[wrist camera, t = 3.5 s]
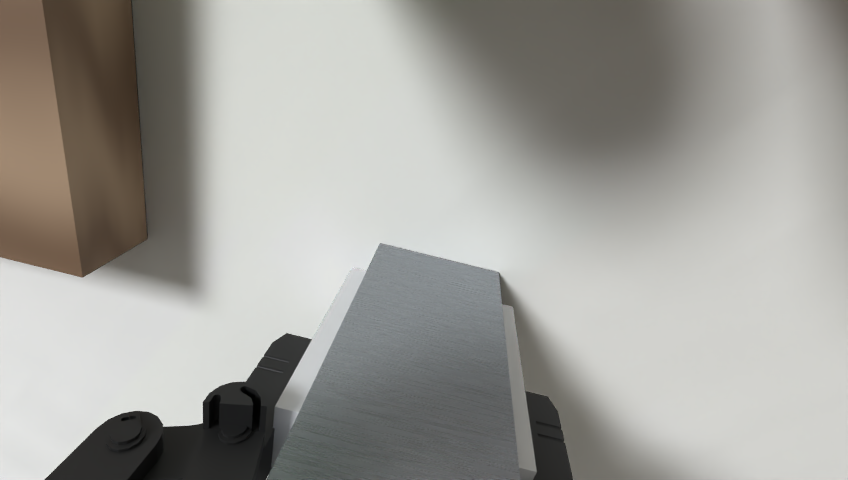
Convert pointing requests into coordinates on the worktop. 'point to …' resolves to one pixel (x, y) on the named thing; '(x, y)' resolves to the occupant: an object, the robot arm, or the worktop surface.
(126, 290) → the worktop surface
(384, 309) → the square peg
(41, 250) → the socket block
